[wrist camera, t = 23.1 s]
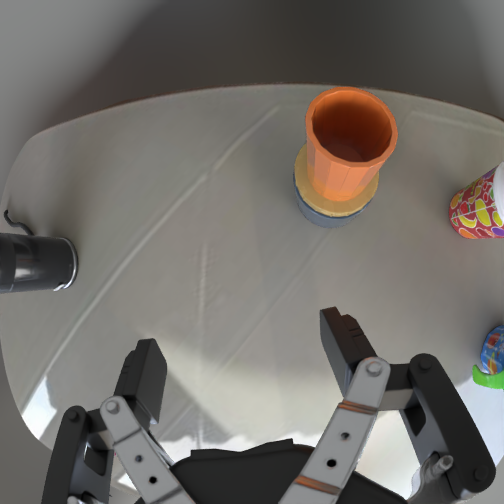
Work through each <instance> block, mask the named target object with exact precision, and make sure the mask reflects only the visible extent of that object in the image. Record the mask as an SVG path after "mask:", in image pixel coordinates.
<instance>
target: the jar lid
mask: <svg viewBox="0 0 504 504" xmlns="http://www.w3.org/2000/svg"><path fill="white" fill-rule="evenodd" d="M294 168H295V179H296V182H295V183H296V186H297V188H298V191H299V193H300V195H301V196H302V198H303V201H305V202H306V203H307V204H308V205H309V206H310V207H312V208H313V209H314V210H315V211H318V212H320V213H322V214H325V215H328V216H330V217H332V216H335V217H340V216H348V215H350V214H353V213H355V212H357V211H359V210H361V209H362V208H363V207H364V206H365V205H366V204H367V203H368V202H369V201H370V199H371V198H372V197H373V196H374V193H375V191H376V189H377V186H378V181H379V171H378V172H377V174H376V175H375V176H374V177H373V179H372V180H371V181H370V183H369V184H368V185H367V187H366V188H365V189H364V190H363V191H362V192H361V194H360V195H358V196H357V197H355V198H353V199H351V200H348V201H333V200H329V199H327V198H325V197H323V196H321V195H320V194H319V193H318V192H317V191H316V190H315V189H314V188H313V186H312V185H311V183H310V181H309V178H308V173H307V152H306V143H305V144H304V146H303V147H302V148H301V150H300V151H299V153H298V155H297V158H296V161H295V166H294Z"/></svg>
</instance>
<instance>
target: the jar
mask: <svg viewBox="0 0 504 504" xmlns="http://www.w3.org/2000/svg"><path fill="white" fill-rule="evenodd" d="M293 180H294V187H295V192H296V198H297V202H298V206H299V208H300V210H301V212H302V213H303V215H304V216H305V217H306V218H307V219H308V220H309V221H311V222H312V223H314V224H316V225H318V226H321V227H324V228H337V227H341V226H344V225H346V224H348V223H349V222H350V221H352V220H353V219H354V218H355V217H356V216H357V215H358V214H359V213H361V212H362V211H363V210H364V209H365V208H366V207H367V205H368V204H369V203H370V201H371V199H372V198H371V199H370V201H369V202H368V203H367V204H366V205H365V206H364V207H363V208H362V209H361V210H359V211H357V212H355V213H353V214H350V215H348V216H340V217H335V216H332V217H330V216H328V215H325V214H322V213H320V212H318V211H315V210H314V209H313V208H312V207H310V206H309V205H308V204H307V203H306V202H305V201H303V198H302V196H301V195H300V193H299V191H298V188H297V186H296V183H295V182H296V179H295V168H294V174H293Z"/></svg>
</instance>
